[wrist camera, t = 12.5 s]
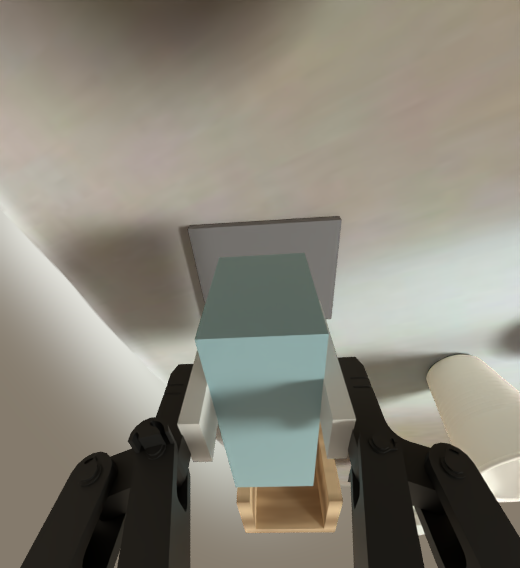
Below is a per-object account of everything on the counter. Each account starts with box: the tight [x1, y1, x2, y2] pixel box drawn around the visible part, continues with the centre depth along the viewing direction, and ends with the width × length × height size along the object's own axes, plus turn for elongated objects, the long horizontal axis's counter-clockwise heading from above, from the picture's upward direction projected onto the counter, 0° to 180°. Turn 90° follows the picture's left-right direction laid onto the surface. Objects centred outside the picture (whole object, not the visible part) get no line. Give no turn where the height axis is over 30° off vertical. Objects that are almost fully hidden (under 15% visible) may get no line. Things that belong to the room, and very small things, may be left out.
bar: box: [195, 253, 329, 487], centre depth 15 cm, size 12×4×6 cm, turn 4°
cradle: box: [237, 423, 343, 533], centre depth 29 cm, size 18×10×11 cm, turn 4°
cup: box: [426, 355, 520, 502], centre depth 26 cm, size 10×10×11 cm
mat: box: [188, 216, 341, 319], centre depth 24 cm, size 10×12×1 cm
